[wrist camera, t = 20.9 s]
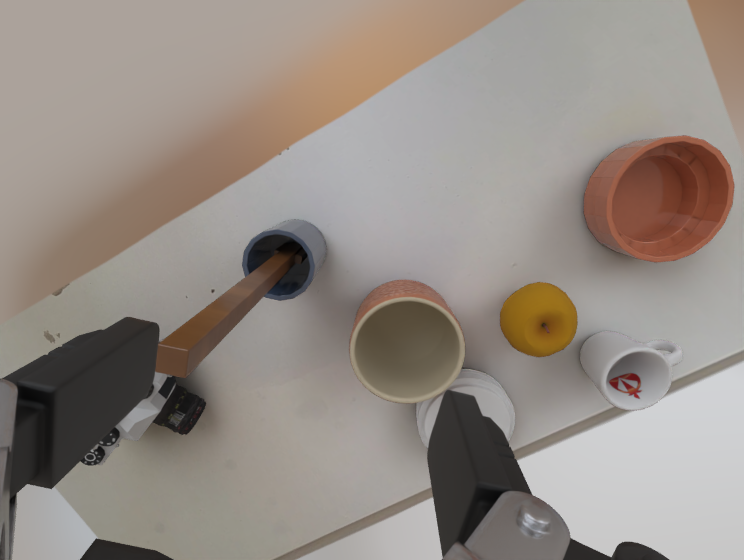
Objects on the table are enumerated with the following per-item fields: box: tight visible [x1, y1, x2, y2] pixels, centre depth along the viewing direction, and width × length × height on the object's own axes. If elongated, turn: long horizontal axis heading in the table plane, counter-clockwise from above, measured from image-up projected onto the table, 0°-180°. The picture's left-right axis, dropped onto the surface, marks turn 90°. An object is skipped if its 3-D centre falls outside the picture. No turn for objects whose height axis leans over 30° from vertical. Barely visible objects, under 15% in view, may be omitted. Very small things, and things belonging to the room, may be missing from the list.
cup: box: [580, 331, 683, 411], centre depth 51 cm, size 11×8×8 cm
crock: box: [242, 219, 326, 301], centre depth 48 cm, size 7×7×10 cm
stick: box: [155, 242, 308, 378], centre depth 36 cm, size 2×3×32 cm, turn 77°
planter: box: [349, 280, 465, 404], centre depth 49 cm, size 12×12×11 cm
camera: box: [81, 340, 206, 465], centre depth 53 cm, size 15×11×10 cm
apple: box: [500, 282, 577, 357], centre depth 49 cm, size 9×8×9 cm
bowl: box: [584, 135, 734, 262], centre depth 47 cm, size 13×13×6 cm
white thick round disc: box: [416, 369, 515, 449], centre depth 55 cm, size 13×13×5 cm
